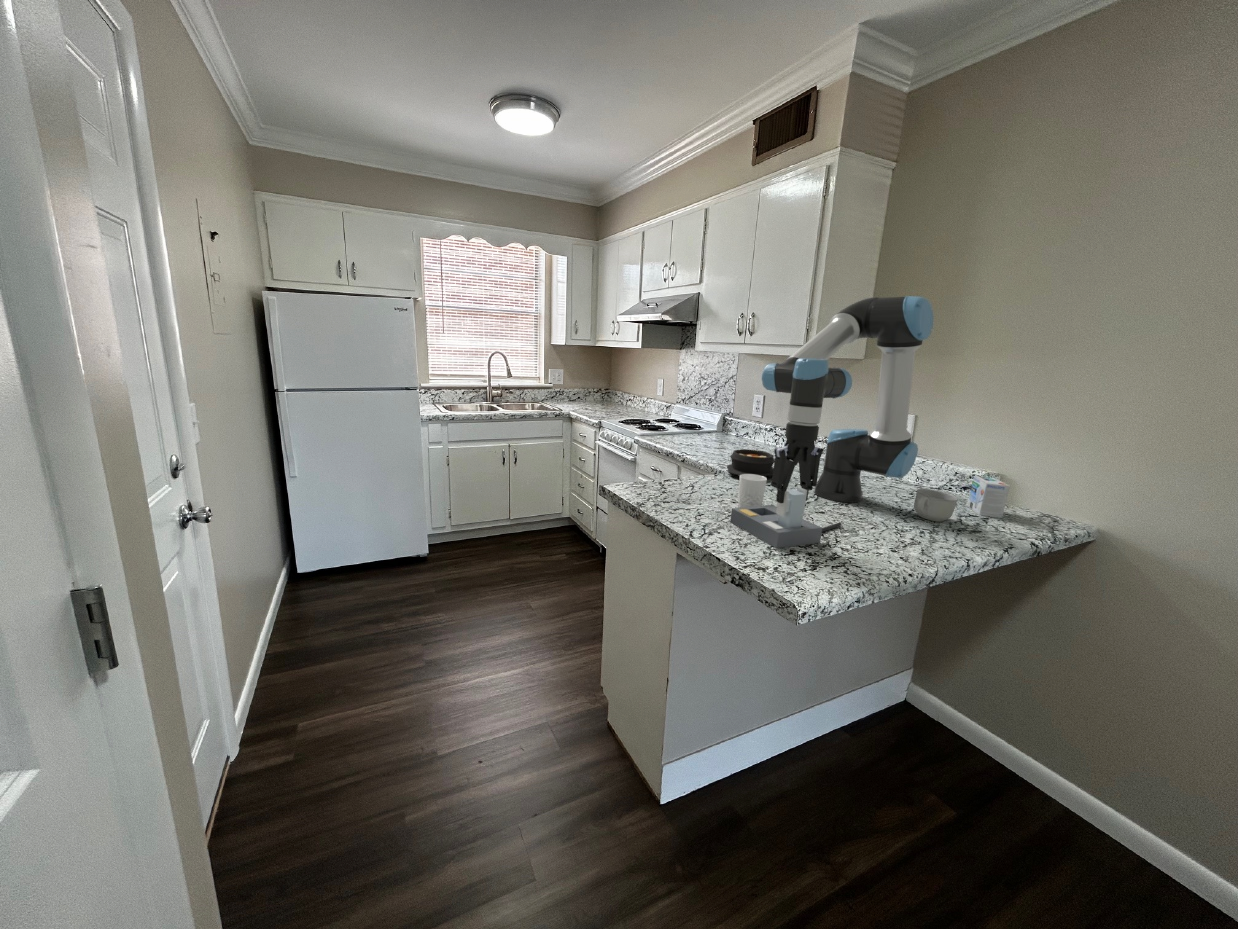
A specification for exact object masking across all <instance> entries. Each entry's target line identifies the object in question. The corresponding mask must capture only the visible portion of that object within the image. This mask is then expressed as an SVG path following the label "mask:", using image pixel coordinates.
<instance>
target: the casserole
mask: <svg viewBox="0 0 1238 929" xmlns="http://www.w3.org/2000/svg"><path fill="white" fill-rule="evenodd" d="M729 457H730V458H731V464H728V465H727V466H726V469H727V472H728V473H729V474H732V475H735V476H738V477H740V475H742V474H755V475H760V476H763V477H766V478H767V477H768V476H769V477H771V476H773V469H774V462H775V457H774V455H773V454H772V453H769V452H766V451H763V450H758V449H757V450H756V449H744V448H743V449H736V450H733V451H732V453H731V455H730V456H729Z"/></svg>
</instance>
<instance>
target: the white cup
mask: <svg viewBox="0 0 1238 929" xmlns="http://www.w3.org/2000/svg"><path fill="white" fill-rule="evenodd" d="M738 480H739V482H738V494H737V495H738V496H737V499H738V504H737V508H742V507H753V506H763V502H764V497H765V492H766V486H767V481H768V479H767V476H766V477H763V476H760V475H755V474H742V475H740V476H739V479H738Z"/></svg>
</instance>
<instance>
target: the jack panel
mask: <svg viewBox="0 0 1238 929" xmlns="http://www.w3.org/2000/svg"><path fill="white" fill-rule="evenodd" d="M776 510H777V505H774V504H767V505H762V506H753V507H742V508H738V507H734V508H733V507H731V512H730V521H729V523H731V524H733V525H735V526H736V527H738V528H739V529H742V530H743V531H746V532H747V533H749V534H751V535H753V536H754V537H756V538H757V539H758V540H759V539H760V540H762V541H763V542H764V543H767V544H768V545H770V546H771V547H773V548H775V549H781V548H788V547H796V546H803V545H805V546H806V545H811V544H813V545H814V544H819V543H820V544H821V537H822V533H823V532H822V528H823V527H821V526H820V525H818V524H815V523H813V522H811V521H808V520H807V519H804V518H802V524H801V527H799V528H790V529H787V528H785V527H783V526H781V525H779V524H778V518H779V514H777V513H776Z"/></svg>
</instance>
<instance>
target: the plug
mask: <svg viewBox="0 0 1238 929" xmlns="http://www.w3.org/2000/svg"><path fill="white" fill-rule="evenodd" d="M787 491H789V497H788V504H787V511H786V517H783V516H781V515H779V518H778V524H779V525H781V526H783V527H785V528H787V529H790V528H799V527H801V524H802V519H803V510H804V511H805V509H804V504H805V505H806V503H805V497H806V494H804V493H802V492H799V491H797V489H787Z"/></svg>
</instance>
